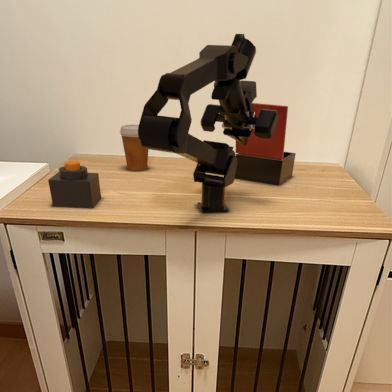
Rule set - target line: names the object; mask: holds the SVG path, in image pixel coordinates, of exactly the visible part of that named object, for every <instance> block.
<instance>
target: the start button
mask: <svg viewBox="0 0 392 392" xmlns="http://www.w3.org/2000/svg"><path fill="white" fill-rule="evenodd" d="M63 164H64V165H63V166H65V170H67V171H76V170H81V168H80V166H81V162H80V161H78V160H66V161H64V163H63Z"/></svg>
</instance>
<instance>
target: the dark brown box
mask: <svg viewBox="0 0 392 392" xmlns="http://www.w3.org/2000/svg"><path fill="white" fill-rule="evenodd" d="M235 154H236V155H235V156H236V157H237V167H236V172H235V177H234V179H237V180H242V181H243V180H244V181H249V182H256V183H262V184H268V185H274V186H280V185H282V184H284V182H286V181H288V180H289V179H291V177H293V172H294V166H295V161H296V152H289V151H284V156H283V159H275V158H268V157H260V156H253V155H246V154H239V153H235Z"/></svg>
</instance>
